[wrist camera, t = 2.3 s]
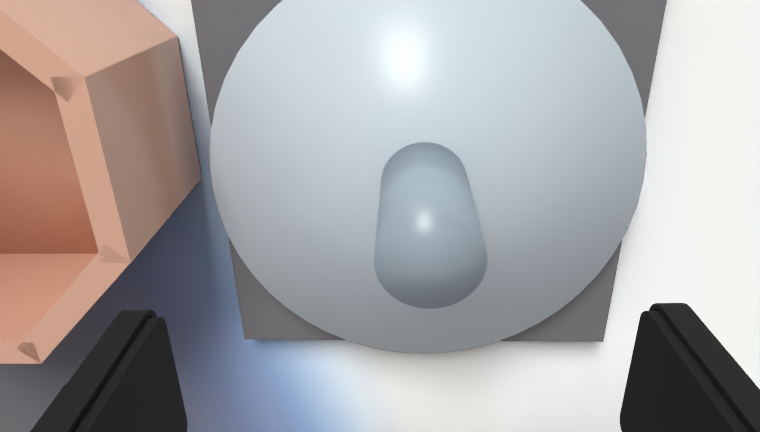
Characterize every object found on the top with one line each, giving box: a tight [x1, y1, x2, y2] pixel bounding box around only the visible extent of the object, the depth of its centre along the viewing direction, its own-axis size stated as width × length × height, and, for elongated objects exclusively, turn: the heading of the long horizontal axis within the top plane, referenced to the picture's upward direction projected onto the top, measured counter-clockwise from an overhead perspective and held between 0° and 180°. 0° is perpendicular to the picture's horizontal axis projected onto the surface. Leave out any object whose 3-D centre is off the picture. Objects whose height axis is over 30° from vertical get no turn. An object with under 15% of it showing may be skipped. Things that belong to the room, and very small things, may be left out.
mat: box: [191, 0, 667, 342], centre depth 20 cm, size 14×14×1 cm
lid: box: [210, 0, 646, 353], centre depth 17 cm, size 14×14×6 cm
